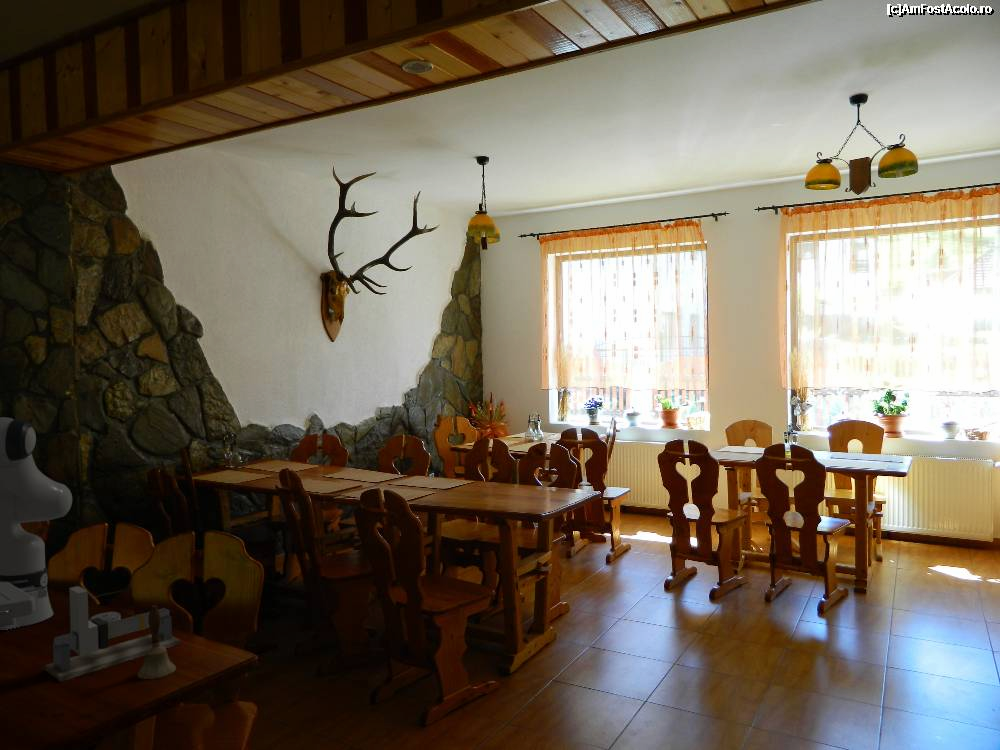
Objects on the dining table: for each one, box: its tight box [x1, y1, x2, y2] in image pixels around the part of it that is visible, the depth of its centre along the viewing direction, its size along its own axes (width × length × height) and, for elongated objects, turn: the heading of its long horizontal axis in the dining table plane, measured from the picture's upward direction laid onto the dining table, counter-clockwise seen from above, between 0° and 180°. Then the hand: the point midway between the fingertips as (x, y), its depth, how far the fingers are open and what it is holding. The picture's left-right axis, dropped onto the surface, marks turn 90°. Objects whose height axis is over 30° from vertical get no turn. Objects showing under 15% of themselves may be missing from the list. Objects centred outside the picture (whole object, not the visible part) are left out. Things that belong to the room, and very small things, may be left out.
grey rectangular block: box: [68, 585, 99, 656], centre depth 176 cm, size 4×6×15 cm, turn 49°
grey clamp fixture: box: [52, 607, 173, 672], centre depth 181 cm, size 26×5×7 cm, turn 139°
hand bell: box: [137, 604, 177, 680], centre depth 172 cm, size 8×8×16 cm
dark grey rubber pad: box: [91, 618, 109, 649], centre depth 179 cm, size 2×6×6 cm, turn 49°
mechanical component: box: [88, 611, 122, 623], centre depth 199 cm, size 10×4×10 cm
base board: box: [45, 633, 181, 683], centre depth 181 cm, size 28×10×1 cm, turn 139°
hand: (44, 591), depth 169 cm, fingers closed
